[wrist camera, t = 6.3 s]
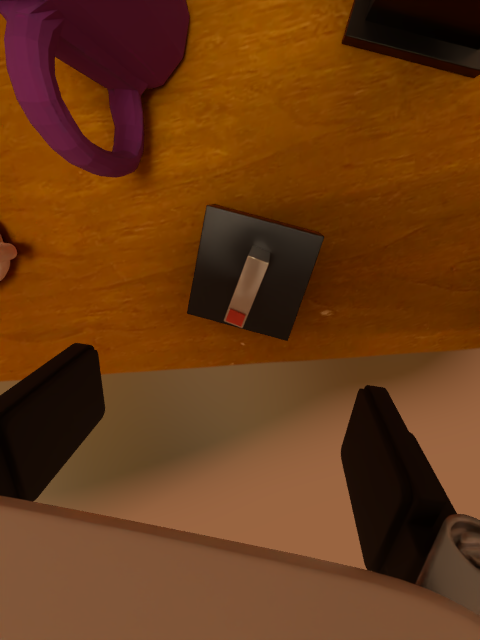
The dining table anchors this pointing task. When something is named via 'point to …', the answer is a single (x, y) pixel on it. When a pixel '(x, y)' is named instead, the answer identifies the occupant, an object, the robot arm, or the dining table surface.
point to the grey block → (247, 286)
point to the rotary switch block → (229, 259)
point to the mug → (93, 67)
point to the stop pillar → (419, 32)
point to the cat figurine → (6, 257)
